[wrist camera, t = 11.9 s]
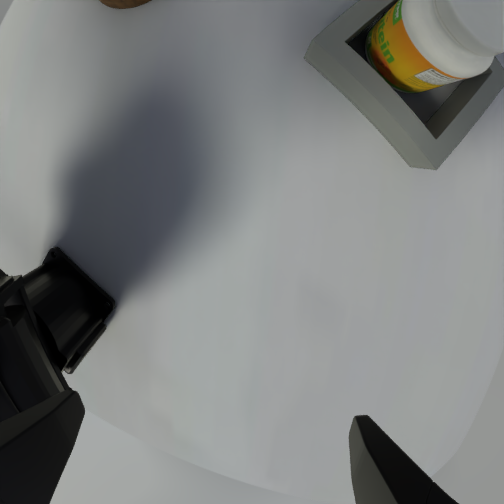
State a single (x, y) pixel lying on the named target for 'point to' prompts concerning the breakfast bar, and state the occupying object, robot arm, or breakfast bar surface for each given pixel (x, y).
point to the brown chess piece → (123, 3)
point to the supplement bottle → (435, 42)
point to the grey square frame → (389, 102)
